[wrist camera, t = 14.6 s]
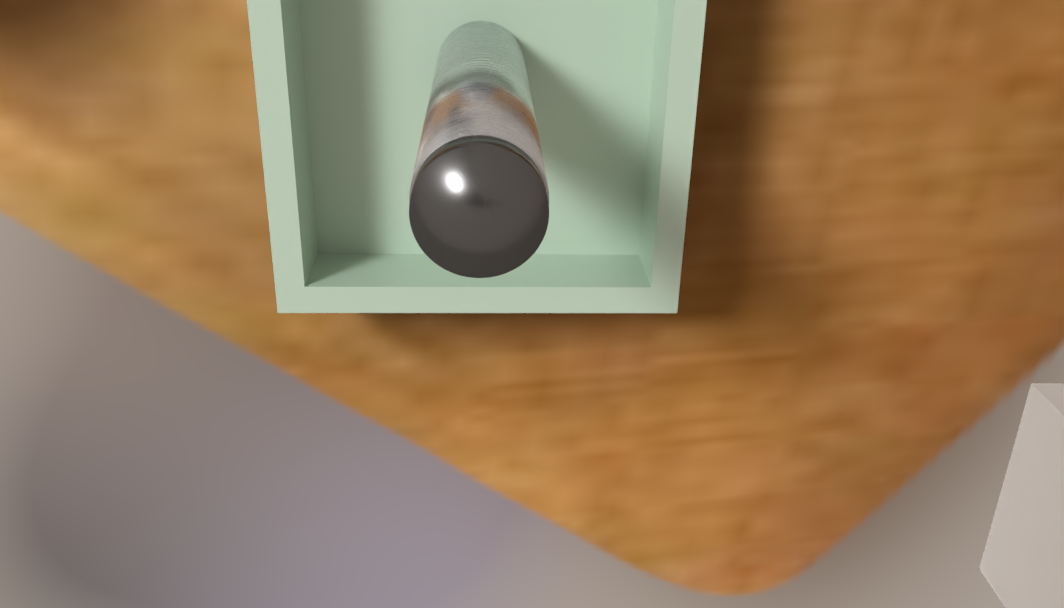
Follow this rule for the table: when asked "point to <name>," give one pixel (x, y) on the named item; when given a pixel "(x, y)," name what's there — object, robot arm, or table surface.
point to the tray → (395, 131)
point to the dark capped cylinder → (479, 158)
